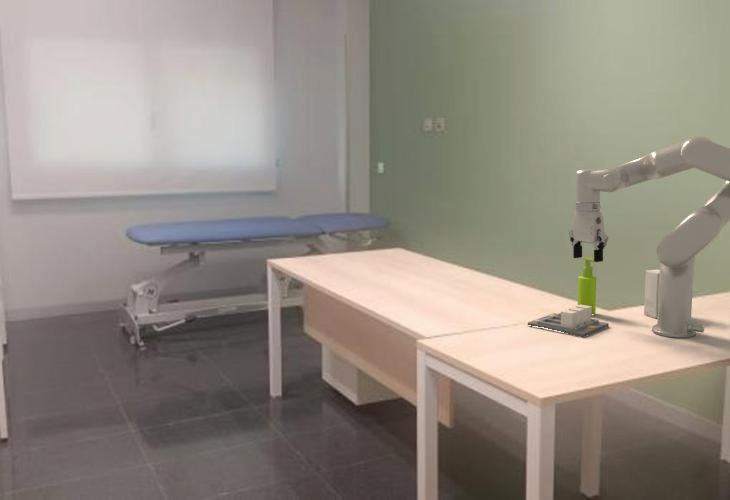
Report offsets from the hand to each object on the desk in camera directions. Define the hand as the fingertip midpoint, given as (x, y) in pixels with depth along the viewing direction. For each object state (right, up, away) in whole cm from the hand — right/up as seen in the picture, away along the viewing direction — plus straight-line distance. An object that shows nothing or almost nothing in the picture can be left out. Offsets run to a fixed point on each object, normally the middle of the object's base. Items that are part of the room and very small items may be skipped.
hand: (587, 259), depth 223 cm
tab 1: (-8, -21, -5) cm, 23 cm away
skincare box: (+28, -19, +10) cm, 35 cm away
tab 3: (-1, -20, +1) cm, 20 cm away
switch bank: (-7, -22, 0) cm, 23 cm away
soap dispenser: (+5, -19, +14) cm, 25 cm away
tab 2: (-5, -21, -2) cm, 21 cm away
